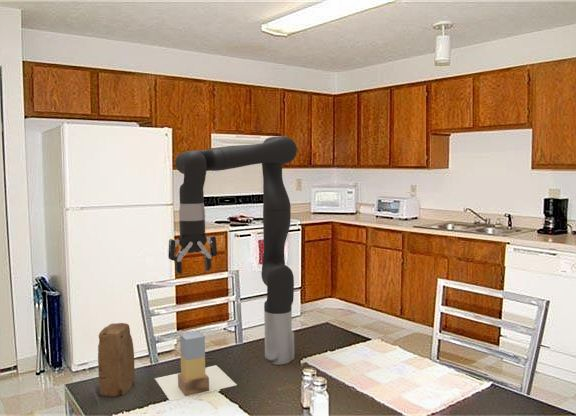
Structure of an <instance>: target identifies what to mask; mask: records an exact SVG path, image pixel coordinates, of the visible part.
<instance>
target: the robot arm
mask: <svg viewBox="0 0 576 416" xmlns="http://www.w3.org/2000/svg"><path fill="white" fill-rule="evenodd" d="M297 152H298V147H297V145H296V143H295V141H294V140H293V139H292V138H290V137H289V136H285V135H282V136H281V135H279V136H278V135H277V136H270V137H267V138H266V139H264V141H263V142H261V143H254V144H239V145H237V144H236V145H227V146H219V147H214V148H209V149H198V150H187V151H182V152H180V153H179V154H178V155H177V156H176V158H175V161H174V163H175V164H174V165H175V169H176V170H177V171H178V172H179V173H181V174H183V183H182V184H181V185H180V186H179V193H178V194H179V209H178V219H179V239H173V238H170V239H169V241H168V256H167V257H168V259H169V260H170V261H174V263H175V265H174V267H175V272H176V273H177V274H178V275H183V272H182V271H183V265H182V264H183V263H182V262H183V261H182V259H183V258H184V257H185V256H186V255H187V253H188V254H193V253H202V255H203V256H204V257H205V258H204V270H205V271H206V272H210V269H211V268H212V258H213V257H216V256H217V255H218V248H217V237H216V236H213V235H210V236H207V235H206V211H205V210H206V209H205V203H204V201H205V198H204V194H205V193H204V186H205V182H206V177H207V172H209V171H210V172H211V171H212V172H214V171H215V172H217V171H218V172H219V171H225V170H231V169H236V168H243V167H247V166H251V165H252V166H253V165H258V164H259V165H260V164H261V167H262V168H261V169H262V179H263V180H262V181H263V182H262V183H263V185H262V189H263V191H262V193H263V194H262V195H263V197H262V198H263V200H262V201H263V202H262V203H263V204H262V225H263V226H262V227H263V229H262V231H263V233H262V234H263V253H262V254H263V257H262V264H261V280H262V282H263V283H264V285H265V286H266V300H265V302H264V305H263V307H264V308H263V310H264V312H263V313H264V314H263V317H264V318H263V319H264V320H263V321H264V322H263V323H264V360H265V361H267V362H268V363H269V364H271V365H275V366H276V365H286V364H289V363H290V362H292V361H295V332H294V331H293V325H292V324H293V322H292V321H293V319H292V318H293V316H292V313H293V312H292V307H293V306H292V305H293V304H294V299H295V298H294V296H295V295H294V292H295V289H294V288H295V281H294V279H295V278H294V273H293V270H292V269H291V268H290V267H289V266H288V265H286V261H285V260H286V258H285V245H286V241H287V238H288V235H289V232H290V227H291V218H292V217H291V215H292V214H291V202H290V197H289V195H288V192H287V189H286V187H285V185H284V180H283V165H287V164H289V163H291V162H292V161H294V159H296V156H297V154H298V153H297ZM206 243H208V244H209V249H210V251H209V250H208V249H206V246H205V245H206ZM178 244H179V245H180V248H179V250H178V252H177V254H176V247H178Z"/></svg>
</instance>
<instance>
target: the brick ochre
mask: <svg viewBox="0 0 576 416" xmlns="http://www.w3.org/2000/svg"><path fill="white" fill-rule="evenodd" d="M205 368H206V356H205V357H201V358H196V359H191V360H186V359H185V358H184V357H183V356H182V355H181V354H180V373H181V375H182V376H183V377H184V378H185V379H186V381H189V380H194V379H198V378H203V377H205Z"/></svg>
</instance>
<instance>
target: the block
mask: <svg viewBox="0 0 576 416" xmlns="http://www.w3.org/2000/svg"><path fill="white" fill-rule="evenodd" d="M130 329H131V328H130V325H129V324H128V323H125V322H124V323H123V322H119V323H110V324H109V325H107V326H104V328H103V329H101V331H100V332H99V334H98V339H99V340H98V341H99V343H98V345H97V351H98V353H97V363H98V365H97V366H98V370H97V371H98V384H99V385H98V386H99V393H100V396H104V397H118V396H125V394H126V393H128V392H129V391H130V390H131V388H132V387H133V384H134V380H135V349H134V342H133V338H132V334H131V330H130Z"/></svg>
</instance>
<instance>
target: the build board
mask: <svg viewBox="0 0 576 416" xmlns="http://www.w3.org/2000/svg"><path fill="white" fill-rule="evenodd" d="M179 373H180V372H178V373H173V374H169V375H164V376H161V377H160V376H159V377H154V380H155V381H156V383H157V384H158V386H159V387H160V388H161V390H162V391H163V393H164V394H165V396H166V397H167V399H168V400H169V402H173V401H177V400H180V399H181V400H182V399H185V398H188V397H193V396H198V395H201V394H205V393H210V392H213V391H214V392H215V391H219V390H224V389H227V388H231V387H235V386H238V384H237V383H236V382H235V381H233V379H232V378H230V376H228V375H227V374H226V373H225V372H224V371H223V370H222V369H221V368H220V367H218V365H216V364H215V365H211V366H207V367H206V366H205V374H206V375H207V376H208V377H209V391H206V392H202V393H198V394H194V395H189V396H185V395H184V394H183V393H182V391H181V390H180V389H179V387H178V374H179Z"/></svg>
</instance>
